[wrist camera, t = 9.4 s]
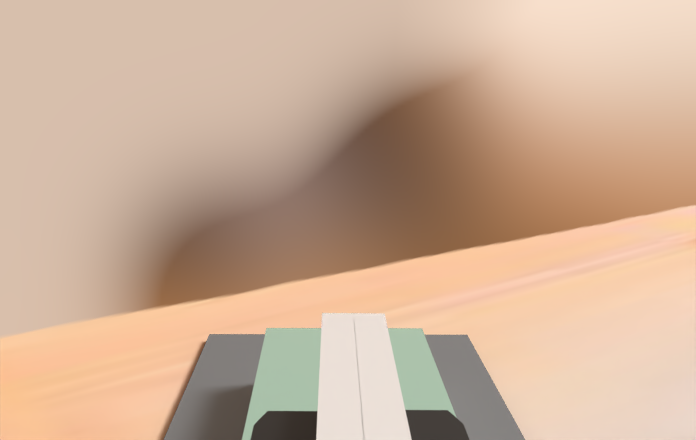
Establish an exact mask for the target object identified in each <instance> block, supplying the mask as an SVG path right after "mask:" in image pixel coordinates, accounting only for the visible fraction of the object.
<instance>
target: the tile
mask: <svg viewBox="0 0 696 440" xmlns="http://www.w3.org/2000/svg"><path fill="white" fill-rule="evenodd" d="M388 332H389V337H390V341H391V346H392V351H393V355H394V360H395V364H396V369H397V374H398V378H399V383H400V388H401V392H402V397H403V402H404V406H405V410H448V411H449V412H451V413H452V414H453V415H454V416H455V417H456V415H455V412H454V410H453V407H452V404H451V402H450V399H449V397H448V394H447V392H446V389H445V386H444V384H443V381H442V379H441V376H440V374H439V371H438V368H437V366H436V363H435V361H434V358H433V356H432V353H431V350H430V348H429V345H428V343H427V340H426V338H425V335H424V333H423V330H422V329H410V328H388ZM320 348H321V328H266V333H265V337H264V342H263V346H262V351H261V356H260V360H259V365H258V369H257V374H256V378H255V383H254V387H253V392H252V396H251V401H250V405H249V410H248V414H247V419H246V423H245V428H244V432H243V437H242V440H250V439H251V435H252V431H253V426H254V424H255V423H256V422H257V421H258V420H259V419H260V418H261V417H262V416H263V415H264V414H265V413H266V412H267V411H318V390H319V369H320ZM456 418H457V417H456Z"/></svg>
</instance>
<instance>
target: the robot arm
mask: <svg viewBox="0 0 696 440" xmlns="http://www.w3.org/2000/svg"><path fill="white" fill-rule="evenodd" d="M250 440H469V437H468V434H467V432H466V429H465V426H464V424H463V423H462V422H461V421H460V420H458V419H457V418H456V417H455V416H454V415H453V414H452V413H451V412H449V411H448V410H405V406H404V402H403V397H402V392H401V388H400V383H399V378H398V374H397V369H396V364H395V360H394V355H393V351H392V346H391V341H390V337H389V332H388V327H387V323H386V318H385V314H366V313H322V326H321V348H320V369H319V390H318V411H267V412H266V413H265V414H264V415H263V416H262V417H261V418H260V419H259V420H258V421H257V422H256V423H255V424H254V426H253V431H252V435H251V439H250Z"/></svg>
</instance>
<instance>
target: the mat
mask: <svg viewBox="0 0 696 440" xmlns="http://www.w3.org/2000/svg"><path fill="white" fill-rule="evenodd" d="M264 337H265V334H209V337H208V339H207V341H206V344H205V346H204V348H203V350H202V353H201V355H200V357H199V360H198V362H197V364H196V366H195V369H194V371H193V373H192V376H191V378H190V380H189V383H188V385H187V387H186V389H185V392H184V394H183V396H182V399H181V401H180V403H179V406H178V408H177V410H176V412H175V415H174V417H173V419H172V422H171V424H170V426H169V428H168V431H167V433H166V435H165V438H164V440H242V437H243V432H244V428H245V423H246V419H247V414H248V410H249V405H250V401H251V396H252V392H253V387H254V383H255V378H256V374H257V369H258V365H259V360H260V356H261V351H262V346H263V342H264ZM425 338H426V340H427V343H428V345H429V348H430V350H431V353H432V356H433V358H434V361H435V363H436V366H437V368H438V371H439V374H440V376H441V379H442V381H443V384H444V386H445V389H446V392H447V394H448V397H449V399H450V402H451V404H452V407H453V410H454V412H455V415H456V417H457V419H458V420H460V421H461V422H462V423H463V424H464V426H465V429H466V432H467V434H468V437H469V440H525V439H524V437H523V435H522V433H521V431H520V430H519V428H518V426H517V424H516V422H515V421H514V419H513V417H512V415H511V413H510V411H509V410H508V408H507V406H506V404H505V402H504V401H503V399H502V397H501V395H500V393H499V392H498V390H497V388H496V386H495V384H494V383H493V381H492V379H491V377H490V375H489V374H488V372H487V370H486V368H485V366H484V365H483V363H482V361H481V359H480V357H479V355H478V354H477V352H476V350H475V348H474V346H473V345H472V343H471V341H470V339H469V337H468V336H467V335H425Z"/></svg>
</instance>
